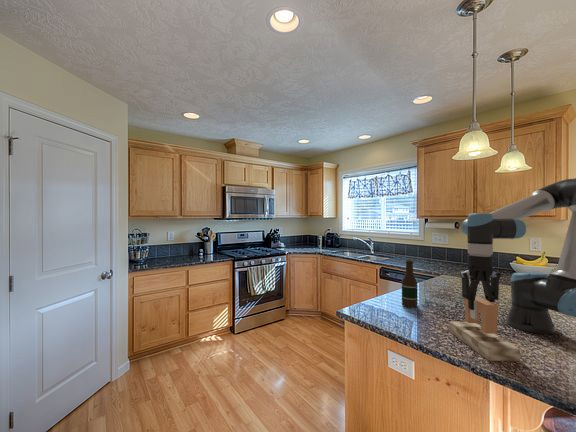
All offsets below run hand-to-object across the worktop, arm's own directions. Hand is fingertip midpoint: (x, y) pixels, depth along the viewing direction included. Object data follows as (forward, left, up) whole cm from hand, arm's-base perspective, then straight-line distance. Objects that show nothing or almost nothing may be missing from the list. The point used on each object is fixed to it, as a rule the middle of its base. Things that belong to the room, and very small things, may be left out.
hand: (480, 318), depth 96 cm
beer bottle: (+8, -42, -10) cm, 44 cm away
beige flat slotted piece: (0, 0, -10) cm, 10 cm away
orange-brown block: (0, 0, -3) cm, 3 cm away
